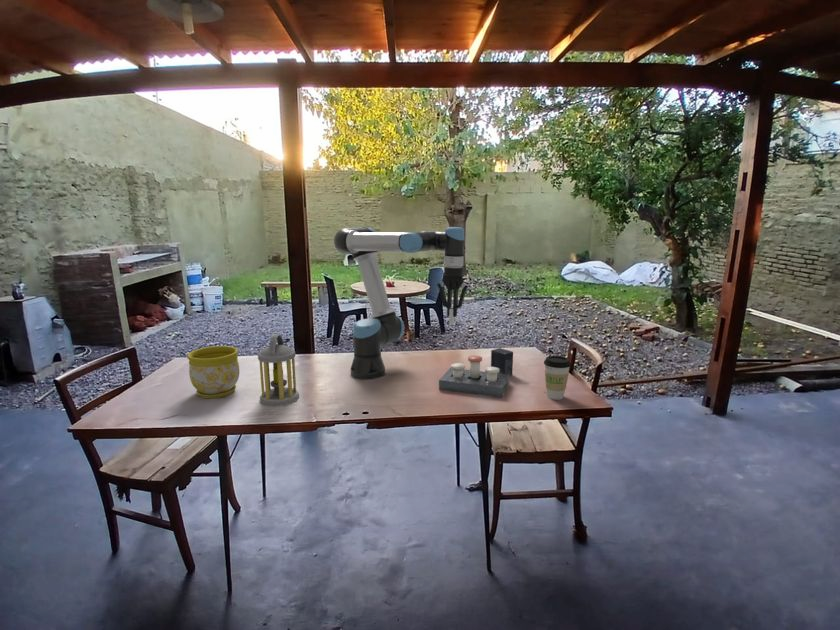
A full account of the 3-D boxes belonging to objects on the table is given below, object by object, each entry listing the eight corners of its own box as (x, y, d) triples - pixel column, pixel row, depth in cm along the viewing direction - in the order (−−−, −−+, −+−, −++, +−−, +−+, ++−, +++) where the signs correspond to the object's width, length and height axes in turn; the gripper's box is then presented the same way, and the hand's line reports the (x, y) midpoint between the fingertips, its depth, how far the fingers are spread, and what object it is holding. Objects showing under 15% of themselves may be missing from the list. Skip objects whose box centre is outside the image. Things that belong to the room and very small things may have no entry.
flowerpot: (218, 404, 174) (214, 361, 170) (180, 397, 180) (175, 356, 177) (251, 387, 190) (248, 348, 187) (215, 382, 197) (212, 343, 193)
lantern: (267, 391, 186) (263, 329, 181) (303, 391, 186) (300, 330, 180) (254, 405, 172) (248, 339, 167) (292, 406, 172) (288, 339, 167)
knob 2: (483, 389, 187) (483, 370, 185) (486, 384, 192) (486, 366, 191) (497, 391, 185) (497, 372, 184) (499, 386, 190) (500, 367, 189)
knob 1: (449, 385, 192) (449, 366, 190) (452, 380, 197) (453, 362, 195) (462, 387, 190) (462, 368, 188) (466, 382, 195) (466, 364, 193)
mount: (438, 389, 188) (439, 380, 187) (450, 376, 203) (450, 367, 202) (501, 397, 180) (502, 387, 179) (508, 383, 194) (509, 374, 194)
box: (512, 374, 205) (513, 351, 203) (503, 377, 202) (504, 353, 199) (498, 370, 211) (499, 347, 209) (490, 373, 207) (490, 349, 205)
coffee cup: (536, 394, 183) (538, 356, 180) (557, 390, 187) (559, 353, 184) (553, 403, 175) (555, 364, 171) (574, 399, 178) (577, 361, 175)
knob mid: (466, 378, 189) (466, 358, 187) (469, 373, 194) (470, 355, 192) (480, 379, 187) (480, 360, 185) (483, 375, 192) (483, 356, 190)
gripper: (435, 266, 187) (433, 324, 192) (467, 268, 182) (464, 328, 188) (441, 264, 194) (439, 320, 199) (472, 266, 189) (469, 323, 195)
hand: (451, 324), depth 193 cm, fingers closed
